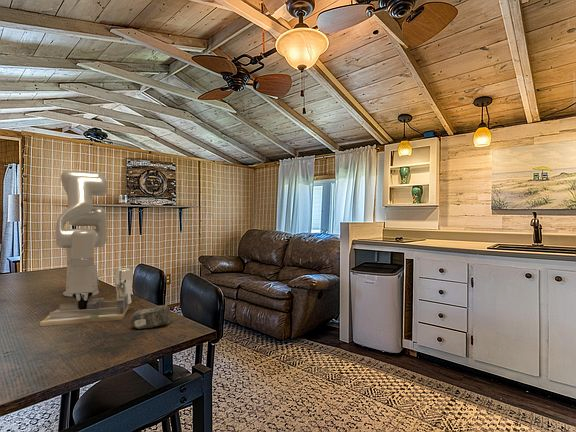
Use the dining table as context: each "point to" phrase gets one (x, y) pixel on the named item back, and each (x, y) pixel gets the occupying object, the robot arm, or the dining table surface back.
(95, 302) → the slider
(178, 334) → the dining table surface
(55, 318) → the gauge board
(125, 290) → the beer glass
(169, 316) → the stone
